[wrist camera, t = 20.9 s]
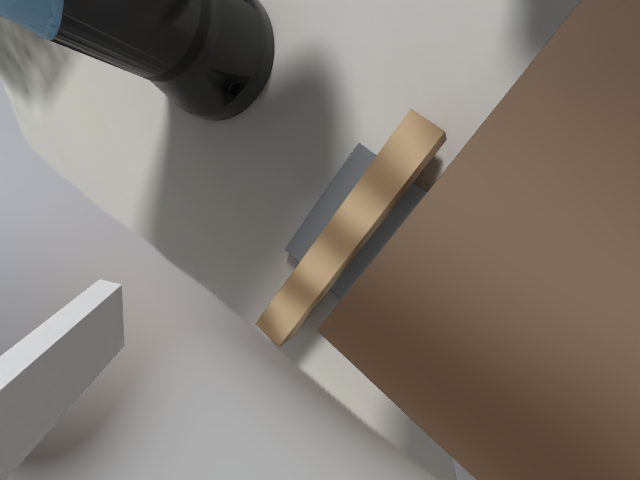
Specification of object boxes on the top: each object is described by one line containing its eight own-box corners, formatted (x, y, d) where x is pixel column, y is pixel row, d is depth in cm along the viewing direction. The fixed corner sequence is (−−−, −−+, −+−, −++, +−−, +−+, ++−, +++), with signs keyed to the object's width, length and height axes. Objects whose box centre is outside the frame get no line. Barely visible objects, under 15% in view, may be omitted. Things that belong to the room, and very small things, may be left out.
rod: (293, 335, 40) (278, 346, 36) (271, 314, 41) (255, 323, 37) (446, 139, 32) (444, 131, 29) (415, 118, 33) (410, 108, 30)
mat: (356, 306, 38) (352, 309, 37) (290, 248, 41) (284, 249, 39) (441, 203, 34) (440, 202, 33) (362, 145, 37) (358, 142, 35)
